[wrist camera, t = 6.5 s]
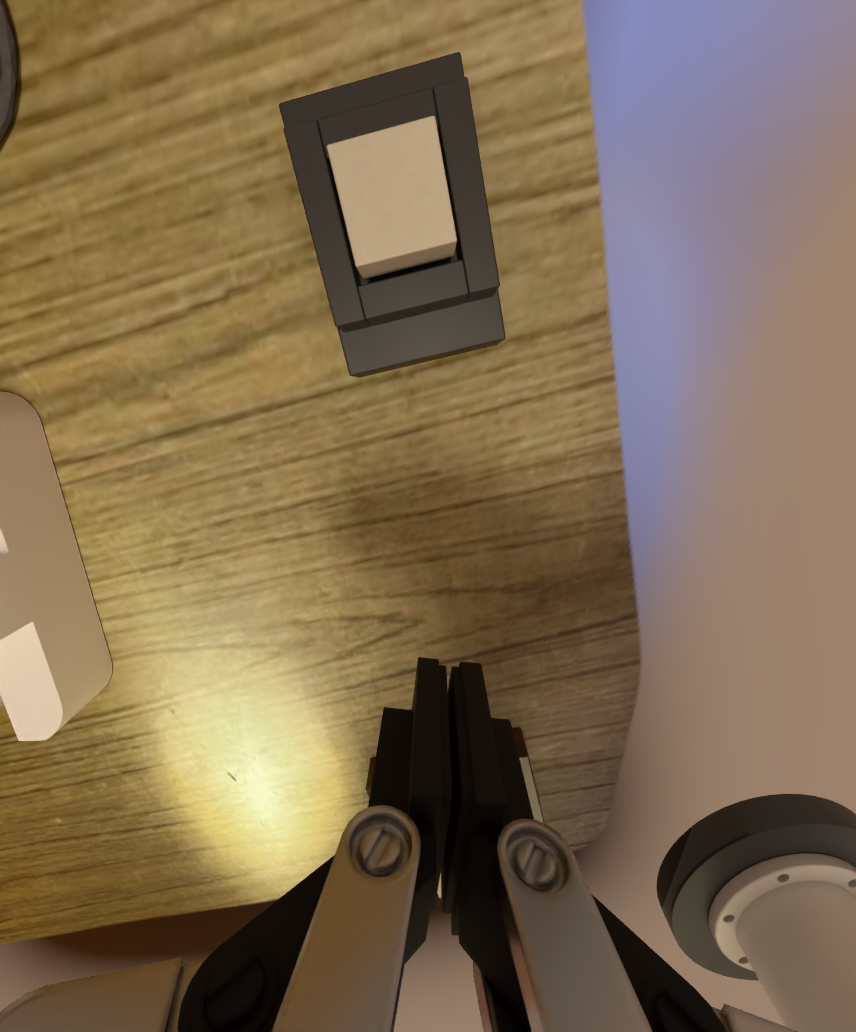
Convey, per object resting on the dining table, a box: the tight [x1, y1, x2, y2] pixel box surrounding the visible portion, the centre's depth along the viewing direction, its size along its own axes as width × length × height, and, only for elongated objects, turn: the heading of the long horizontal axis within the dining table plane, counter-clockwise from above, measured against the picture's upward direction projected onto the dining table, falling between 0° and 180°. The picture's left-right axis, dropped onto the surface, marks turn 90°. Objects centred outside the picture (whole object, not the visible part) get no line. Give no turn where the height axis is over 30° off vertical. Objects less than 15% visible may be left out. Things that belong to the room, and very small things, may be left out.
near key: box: [327, 116, 457, 279], centre depth 15 cm, size 4×4×2 cm
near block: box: [279, 52, 505, 377], centre depth 17 cm, size 10×7×4 cm
